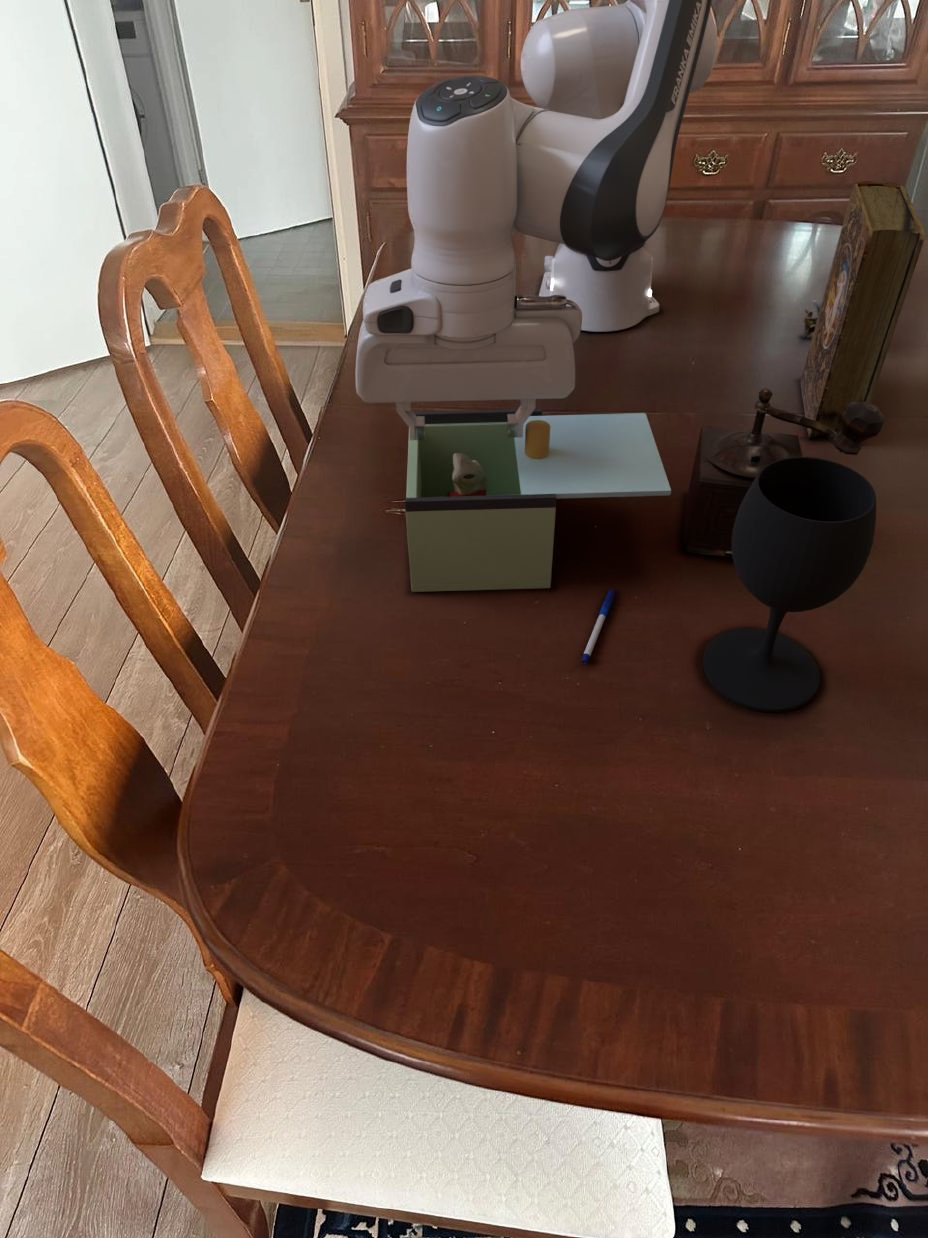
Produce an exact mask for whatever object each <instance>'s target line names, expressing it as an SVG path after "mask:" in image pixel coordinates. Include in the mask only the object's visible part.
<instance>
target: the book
mask: <svg viewBox="0 0 928 1238" xmlns="http://www.w3.org/2000/svg"><path fill="white" fill-rule="evenodd" d="M916 211H917V210H916V209H915V207H914V205H913V203H912V200H911V199H910V196H909V193H908V191H907V190H906V187H905V185H903V184H901V183H895V182H890V181H880V180H862V181H857V182H854V183H853V184H852V188H851V192H850V195H849V199H848V203H847V207H846V209H845V214H844V217H843V222H842V225H841V229H840V232H839V236H838V241H837V244H836V247H835V252H834V254H833V259H832V263H831V267H830V270H829V274H828V278H827V281H826V284H825V289H824V293H823V296H822V300H821V303H820V306H821V307H820V311H819V315H817V317H818V318H817V317H816V318H817V322H816V324H815V325H816V326H815V325H814V326H815V330H814V332H813V333H812V338H811V342H810V345H809V349H808V352H807V356H806V360H805V363H804V368H803V371H802V375H801V378H800V388H801V394H802V396H801V397H802V402H803V408H804V409H803V410H804V417H806V418H809V419H812V420H815V421H818V422H820V423H823V424H825V425H827V426H828V427H830V428H831V429H833V430H834V431H835V432H837V433H839V432H840V431H841V429H842V412H843V409H844V407H845V406H846V405H848V404H849V403H850V402H853V401H865V402H869V403H872V400H873V396H874V393H875V390H876V387H877V384H878V381H879V378H880V375H881V373H882V370H883V366H884V363H885V359H886V357H887V354H888V350H889V347H890V345H891V342H892V339H893V336H894V332H895V329H896V327H897V323H898V320H899V318H900V315H901V313H902V312H901V311H902V309H903V305H904V303H905V299H906V296H907V293H908V290H909V287H910V284H911V281H912V278H913V276H914V272H915V269H916V266H917V263H918V261H919V257H920V254H921V251H922V248H923V245H924V242H925V237H926V232H925V229H924V227H923V225H922V222H921V220H920V218H919V215H918V214H917V212H916ZM806 430H807V434H808V438H809V439H813V438H816V437H821V436H824V435H822V434H821V433H819V432H817V431H815V430H812V429H810V428H807V427H806ZM824 437H825V436H824Z"/></svg>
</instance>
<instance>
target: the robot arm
mask: <svg viewBox="0 0 928 1238" xmlns="http://www.w3.org/2000/svg"><path fill="white" fill-rule="evenodd" d="M712 3H713V0H627V1H625V2H624V3H619V4H617V5H604V6H594V7H593V6H592V7H580V8H571V9H567V10H565V11H561V12H558V13H555V14H552V15H550V16H547V17H543V18H541V19H539V20H537V21H535V22H534V23H533V25H532V27H530V30H529V31H528V33H527V35H526V37H525V40H524V42H523V46H522V50H521V55H520V74H521V79H522V83H523V87H524V89H525V90H526V93H527V95H528V97H529V98H530V99H531V101H532V102H533V104H535V105H536V106H537V107H536V106H533V105H529V104H526V103H523V102H521V101H519V100H516V99H515V98H513V97H512V96H511V93H510V90H509V88H508V87H507V86H506V84H505V83H503V82H502V81H500V80H499V79H497V78H495V77H490V76H485V75H475V74H473V75H471V74H470V75H462V76H457V77H453V78H446V79H443V80H440V81H438V82H435V83H434V84H432V85H431V86H429V87H428V88H426V89H425V90H424V91H423V92H422V93H420V94H419V95H418V96H417V97H416V99H415V101H414V104H413V106H412V110H411V114H410V120H409V126H408V133H407V136H408V137H407V144H406V145H407V146H406V191H407V192H406V194H407V211H408V217H409V220H410V224H411V226H412V229H413V234H414V245H413V249H412V253H411V254H412V255H411V261H410V263H411V267H410V268H408V269H406V270H402V271H400V272H397V273H395V274H391V275H389V276H386V277H383V278H379V279H377V280H375V281H373V282H371V283H370V284H369V285H368V286H367V289H366V291H365V294H364V297H363V302H362V319H363V320H362V322H361V324H360V327H359V333H358V338H357V339H358V340H357V347H356V356H355V373H354V374H355V391H356V395H357V396H358V397H359V398H360V399H361V400H362V401H363V402H364V403H365V404H393V403H394V404H395V410H396V413H397V415H398V416H399V417H400V418H401V420H403V422H404V423H405V424H406V426H407V427H408V432H409V431H410V440H425V417H424V416H416V415H415V413H414V412H415V411H414V410H413V409H412V403H433V402H434V403H435V402H436V403H438V402H439V403H440V402H477V401H511V400H513V401H515V400H518V401H519V403H520V405H519V407H518V408H517V409H518V410H517V412H516V413H515V414H507V436H508V438H520V437H523V423H525V422H526V420H527V419H528V418H529V416H530V415H531V414H532V412H533V411H534V409H536V405H537V400H545V399H546V400H549V399H550V400H552V399H554V400H555V399H556V400H557V399H558V400H559V399H565V398H567V397H569V396H570V394H571V393H572V392H573V391H574V390H575V388H576V359H575V349H574V343H575V342H576V341H577V340H578V339H579V337H580V335H581V332H582V331H585V332H595V333H602V332H603V333H608V332H616V331H621V330H626V329H629V328H631V327H634V326H636V325H638V324H640V323H641V322H642V321H643V320H644V319H645V318H647V317H650V316H652V315H655V314H657V313H659V312H660V303H659V302H658V300H656V298H655V297H654V296H653V295H652V294H653V290H652V281H653V268H654V257H653V256H652V255H651V253H650V252H649V250H647V249H646V247H645V245H646V242H647V241H648V240H650V238H652V237H653V235H654V234H655V233H656V231H657V229H658V227H659V226H660V224H661V221H662V218H663V216H664V212H665V210H666V206H667V201H668V197H669V192H670V191H669V190H670V186H671V181H672V180H671V179H672V174H673V173H672V172H673V167H674V160H675V153H676V147H677V143H678V138H679V135H680V130H681V127H682V123H683V119H684V115H685V112H686V107H687V103H688V99H689V96H690V94H692V93H693V92H696V91H699V90H700V89H701V88H702V87H703V86H704V85H705V84H706V82H707V81H708V80H709V78H710V77H711V74H712V72H713V69H714V67H715V64H716V61H717V56H718V50H719V40H718V39H719V37H718V31H717V28H716V24H715V22H714V19H713V17H712V15H711V14H710V13H711V8H712ZM519 233H520V234H523V235H525V236H529V237H533V238H537V239H542V240H545V241H548V242H552V243H557V244H558V247H557V248H556V251H555V254H554V255H545V256H544V267H543V268H544V269H543V271H544V274H543V277H542V281H541V285H540V289H539V293H538V295H516V267H517V266H516V265H517V264H516V263H517V261H516V259H517V258H516V254H515V253H516V252H515V250H514V246H513V239H512V237H513V236H514V235H517V234H519Z"/></svg>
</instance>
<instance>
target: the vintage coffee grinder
mask: <svg viewBox="0 0 928 1238" xmlns="http://www.w3.org/2000/svg"><path fill="white" fill-rule="evenodd" d="M772 397H773V392H772V390H771V389H769V388H762V389H761V390H760V391H759V392H758V400H757V401H756V402H755V404H754V410H755V411H756V414H755V418H754V422H753V427H752V429H742V428H731V427H721V426H710V425H702V426H701V428H700V433H699V437H698V441H697V447H696V451H695V456H694V461H693V467H692V471H691V477H690V482H689V486H688V487H689V488H688V491H687V495H686V499H685V503H684V505H685V511H684V514H685V515H684V525H683V526H684V528H683V545H682V546H683V547H684V550H685V552H687V553H693V554H700V555H705V556H712V557H719V558H724V559H732V560H733V557H732V532H733V527H734V523H735V519H736V516H737V513H738V510H739V508H740V505H741V503H742V501H743V499H744V497H745V495H746V493H747V491H748V490H749V488H750V486H751V485H752V483H753V481H754V480H755V478H756V477H757V475H758V474H759V472H760V471H761V470H762V469H763V468H764V467H765V466H767V465H768V464H770V463H772V462H774V461H777V460H780V459H784V458H790V457H803V453H802V448H801V443H800V442H801V441H800V438H799V435H798V434H790V433H781V432H773V431H763V427H764V422H765V418H766V415H768V416H770V417H772V418H774V419H777V420H780V421H782V422H786V423H790V424H793V425H797V426H800V427H803V428H806V429H807V428H810V429H812V430H815V431H817V432H819V433H821V434H822V435H824V437H825V438H826V439H827V440H828V441H829V442H831V443H832V445H833V446H834V447H835V449H836V450H838V451H839V453H843V454H845V455H850V456H851V455H852V456H857V455H858V454H859V453H860V451H861V449H862V444H863V443H864V442H865V441H867V440H869V439H872V438H875V437H878V435H879V434H880V432H881V431H882V430H883V427H884V425H885V415H884V414H883V413H882V411H881V410H880V409H879V408H878V407H877V406H876V405H875V404H873V403H872V402H870V403H869V402H865V401H853V402H850V403H849V404H848V405H846V406H845V407H844V409H843V412H842V429H841V431H840V432H839V433H837V432H835V431H834V430H833V429H831V428H830V427H828V426H827V425H825V424H823V423H820V422H818V421H815V420H812V419H809V418H806V417H805V416H802V415H799V414H795V413H792V412H789V411H786V410H782V409H779V408H776V407H773V406H772V405H771V402H770V400H771V398H772Z"/></svg>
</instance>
